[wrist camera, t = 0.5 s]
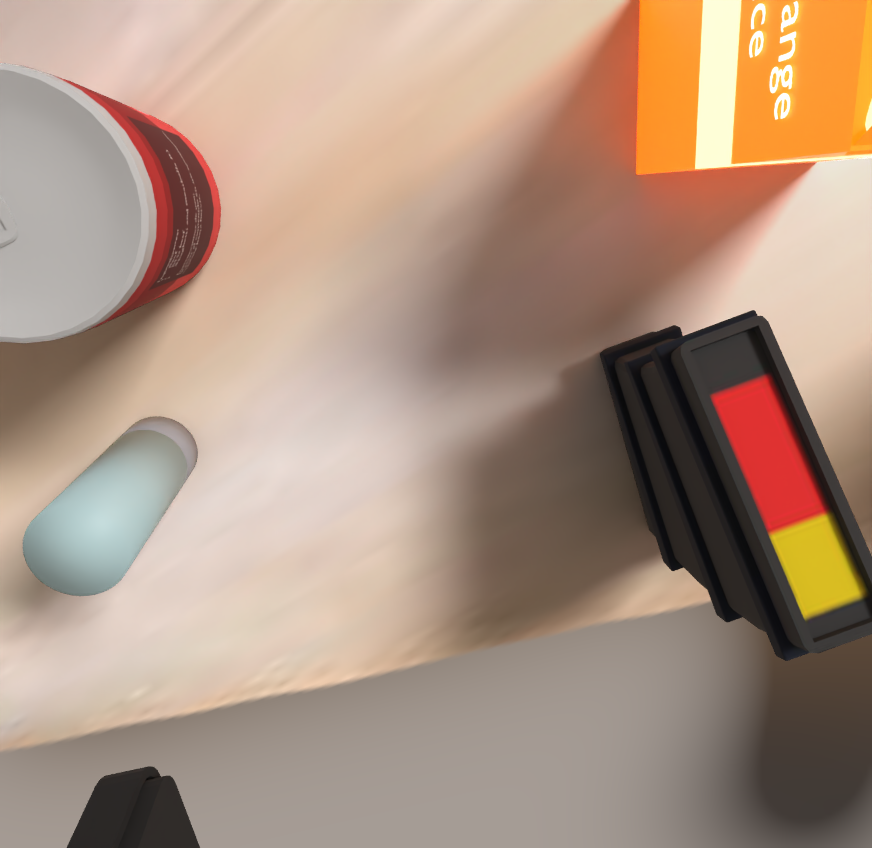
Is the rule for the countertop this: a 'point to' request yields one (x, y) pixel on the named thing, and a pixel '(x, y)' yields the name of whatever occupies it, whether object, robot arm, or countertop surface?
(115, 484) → the peg
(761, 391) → the black layered block
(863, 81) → the orange juice
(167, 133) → the canned food
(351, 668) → the countertop surface
